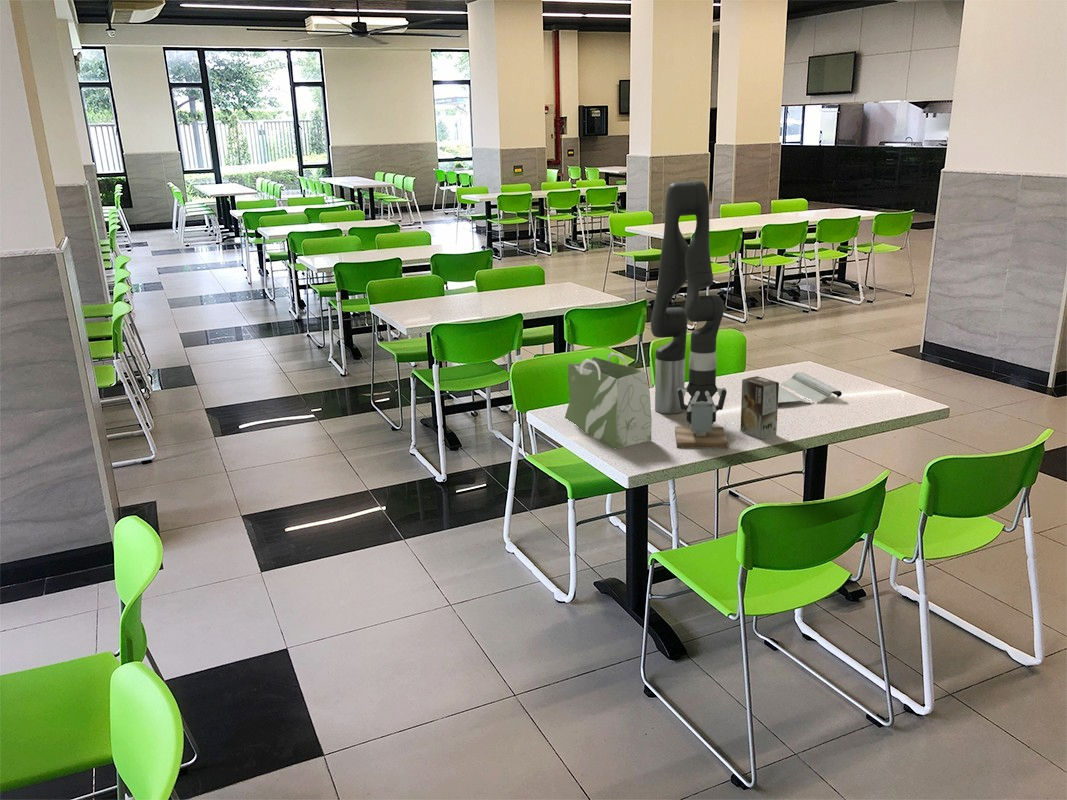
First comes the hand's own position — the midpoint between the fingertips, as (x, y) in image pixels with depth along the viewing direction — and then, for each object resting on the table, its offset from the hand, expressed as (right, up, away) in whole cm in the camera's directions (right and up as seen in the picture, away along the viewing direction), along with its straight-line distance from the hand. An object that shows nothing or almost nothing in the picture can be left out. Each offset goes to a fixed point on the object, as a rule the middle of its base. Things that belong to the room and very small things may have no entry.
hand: (700, 423), depth 235 cm
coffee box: (+18, -3, +5) cm, 19 cm away
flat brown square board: (0, -5, +1) cm, 5 cm away
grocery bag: (-26, -3, +13) cm, 29 cm away
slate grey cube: (0, -2, 0) cm, 2 cm away
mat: (+39, +8, +41) cm, 57 cm away
